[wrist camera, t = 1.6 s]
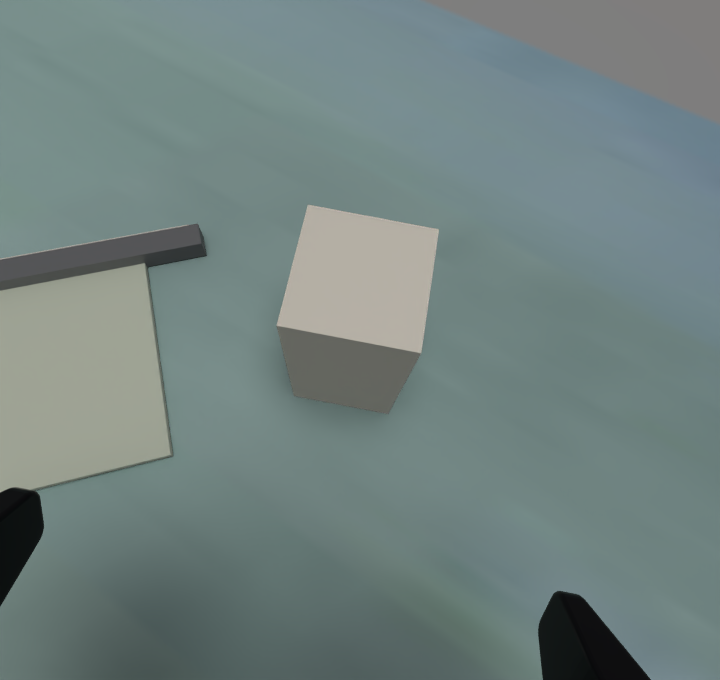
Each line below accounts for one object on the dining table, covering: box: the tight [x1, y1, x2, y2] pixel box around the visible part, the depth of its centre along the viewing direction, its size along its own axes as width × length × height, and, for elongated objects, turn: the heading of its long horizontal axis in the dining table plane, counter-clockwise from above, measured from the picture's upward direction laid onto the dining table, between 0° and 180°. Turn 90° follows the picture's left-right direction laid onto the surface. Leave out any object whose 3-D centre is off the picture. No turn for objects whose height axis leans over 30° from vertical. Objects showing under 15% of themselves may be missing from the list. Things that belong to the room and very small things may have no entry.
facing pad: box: [0, 263, 173, 492], centre depth 23 cm, size 10×10×1 cm
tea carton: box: [277, 205, 439, 414], centre depth 21 cm, size 5×5×9 cm
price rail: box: [0, 224, 207, 291], centre depth 25 cm, size 16×1×1 cm, turn 105°
